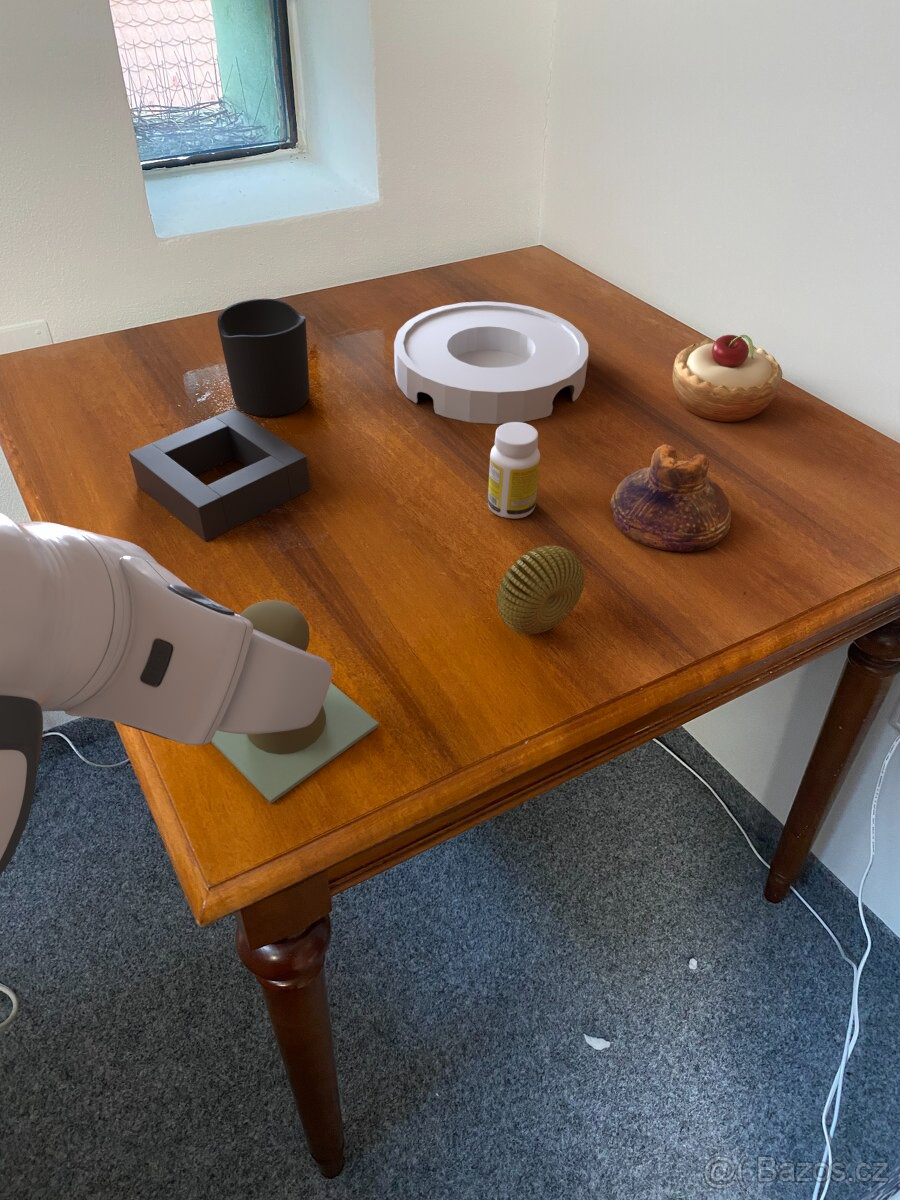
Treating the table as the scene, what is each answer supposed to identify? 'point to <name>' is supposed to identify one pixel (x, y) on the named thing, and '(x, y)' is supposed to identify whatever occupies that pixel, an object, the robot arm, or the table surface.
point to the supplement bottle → (514, 470)
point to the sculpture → (540, 589)
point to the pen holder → (265, 356)
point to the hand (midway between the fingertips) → (233, 637)
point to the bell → (672, 504)
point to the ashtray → (490, 361)
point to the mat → (289, 770)
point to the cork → (294, 631)
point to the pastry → (726, 378)
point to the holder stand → (232, 498)
